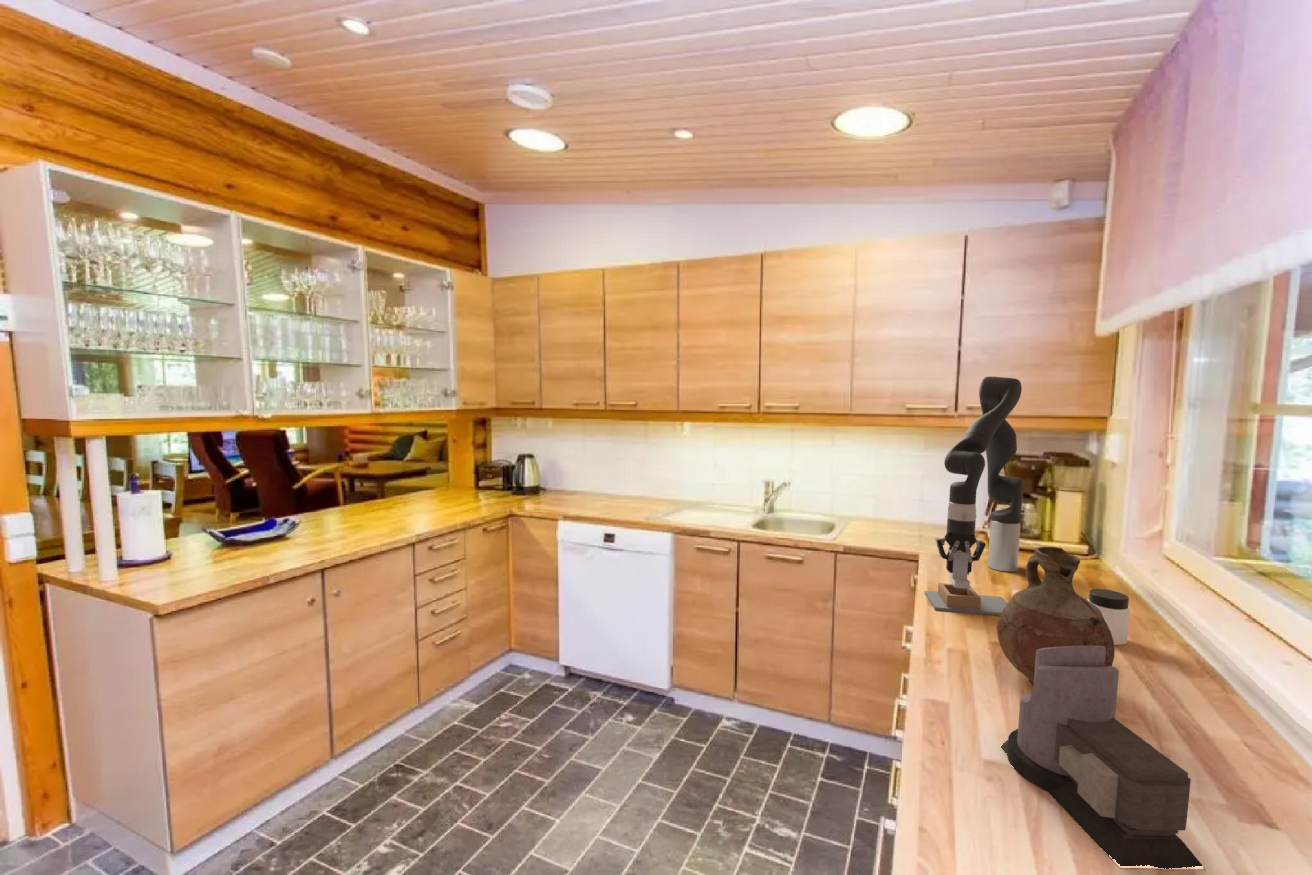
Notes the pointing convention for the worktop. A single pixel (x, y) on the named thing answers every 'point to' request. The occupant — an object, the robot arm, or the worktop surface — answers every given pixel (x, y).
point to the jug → (1050, 613)
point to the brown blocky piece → (1099, 761)
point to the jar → (1113, 612)
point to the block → (960, 570)
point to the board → (964, 600)
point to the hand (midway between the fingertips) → (958, 572)
